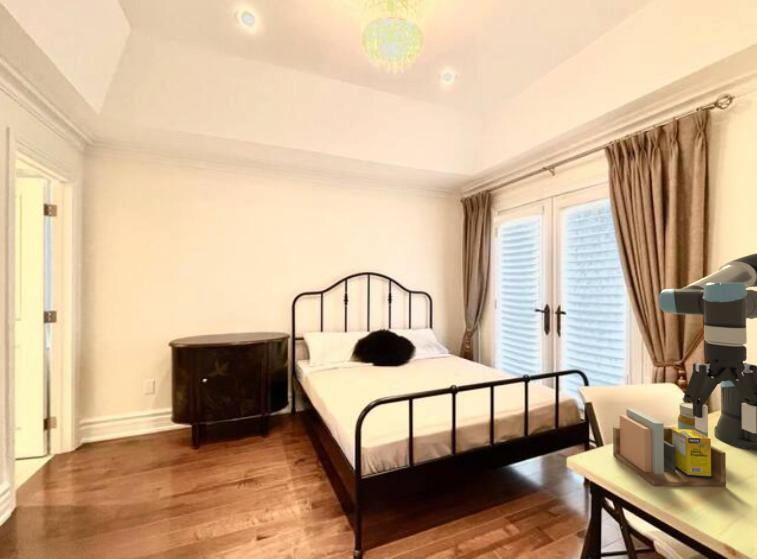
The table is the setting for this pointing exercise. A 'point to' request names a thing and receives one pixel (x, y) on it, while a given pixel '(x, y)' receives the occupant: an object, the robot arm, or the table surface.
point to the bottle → (688, 418)
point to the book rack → (670, 472)
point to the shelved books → (642, 441)
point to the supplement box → (692, 453)
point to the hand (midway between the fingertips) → (725, 430)
